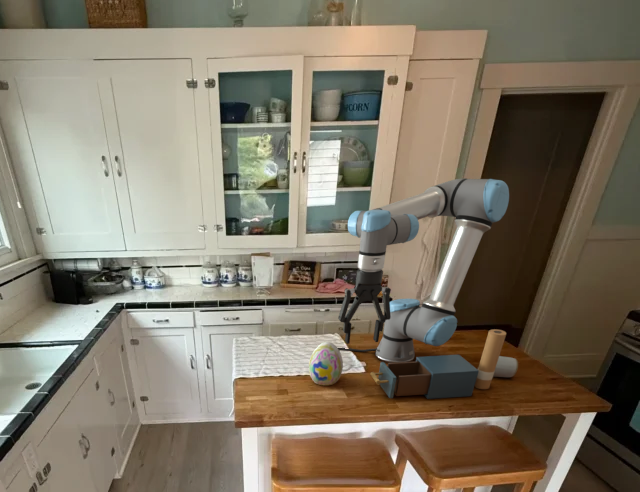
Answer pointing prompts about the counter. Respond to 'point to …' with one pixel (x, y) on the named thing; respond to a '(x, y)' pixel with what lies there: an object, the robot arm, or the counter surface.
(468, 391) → the cabinet
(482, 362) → the paper roll
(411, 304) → the robot arm
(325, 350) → the decorative egg
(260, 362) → the counter surface
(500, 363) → the ceramic mug
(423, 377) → the drawer
